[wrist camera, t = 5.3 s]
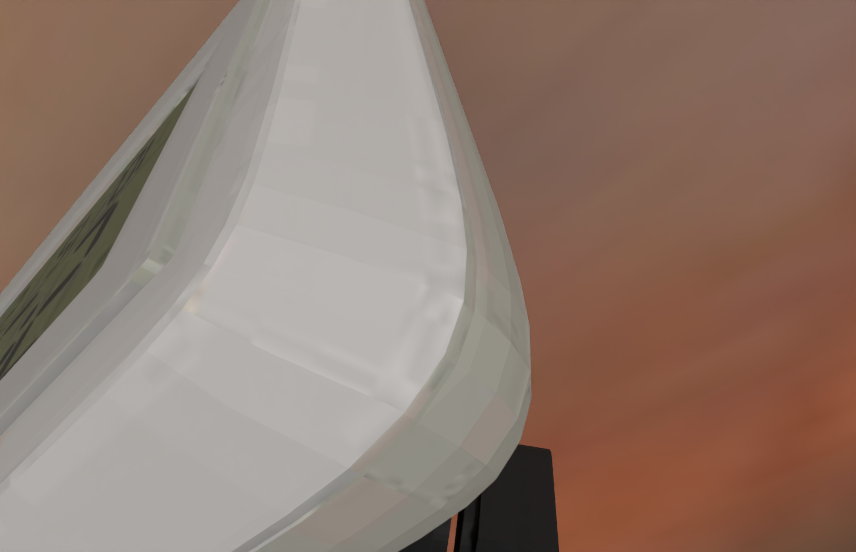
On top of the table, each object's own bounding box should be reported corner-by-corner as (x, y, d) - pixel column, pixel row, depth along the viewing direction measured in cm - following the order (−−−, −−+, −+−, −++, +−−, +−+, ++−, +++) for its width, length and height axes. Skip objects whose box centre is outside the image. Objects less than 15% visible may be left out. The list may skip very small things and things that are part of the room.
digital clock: (407, -129, 11) (-583, -1322, 1) (614, 274, 13) (864, 964, 4) (-95, 256, 16) (-1026, 638, 6) (126, 490, 19) (-293, 1007, 9)
